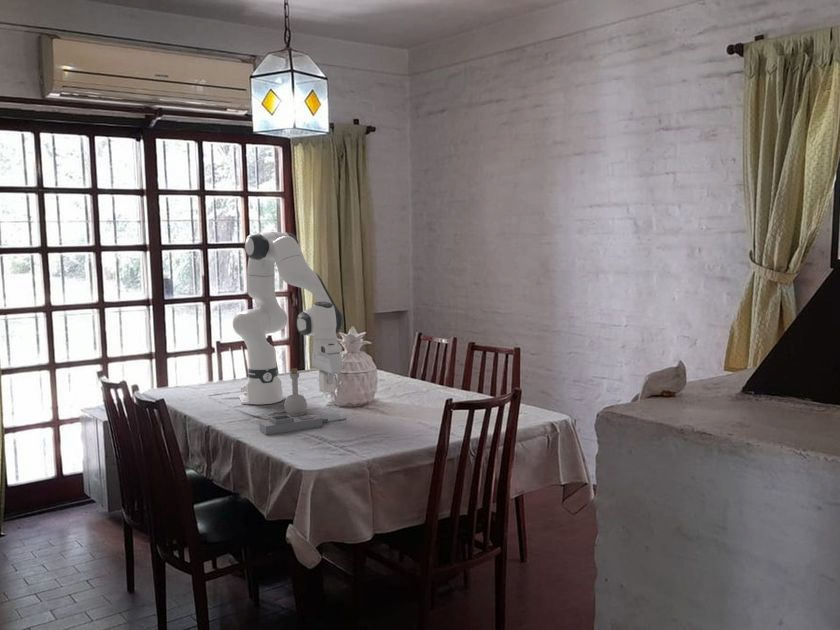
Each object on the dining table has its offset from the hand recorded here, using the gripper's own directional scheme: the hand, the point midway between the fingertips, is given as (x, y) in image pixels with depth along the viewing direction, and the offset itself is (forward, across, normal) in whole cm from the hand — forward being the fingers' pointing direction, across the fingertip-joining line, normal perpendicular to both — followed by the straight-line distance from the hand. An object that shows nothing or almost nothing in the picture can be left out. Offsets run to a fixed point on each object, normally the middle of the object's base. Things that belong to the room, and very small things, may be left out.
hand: (326, 382), depth 293 cm
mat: (+14, 0, 0) cm, 14 cm away
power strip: (+14, +6, -15) cm, 21 cm away
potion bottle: (+14, -15, -7) cm, 22 cm away
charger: (+3, 0, 0) cm, 3 cm away
